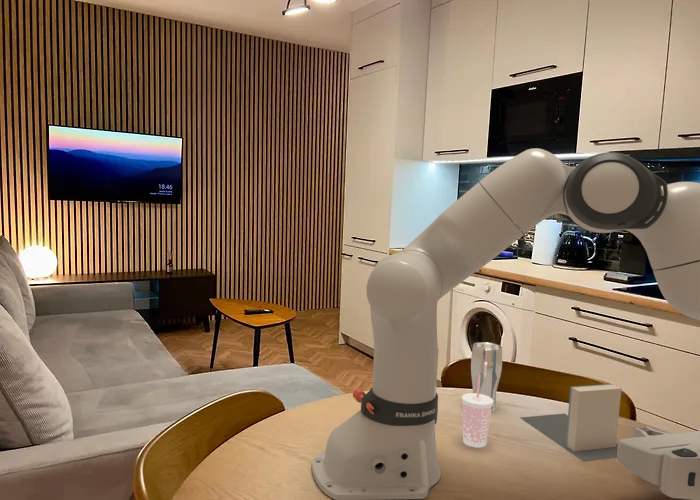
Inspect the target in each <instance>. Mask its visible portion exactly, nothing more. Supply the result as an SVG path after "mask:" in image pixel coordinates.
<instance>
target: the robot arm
mask: <svg viewBox="0 0 700 500" xmlns="http://www.w3.org/2000/svg"><path fill="white" fill-rule="evenodd" d="M554 215H560V216H561V217H563V218H565V219H566V220H567V221H569V222H571V223H573V224H574V225H576V226H577V227H580V228H581V229H583V230H585V231H588V232H591V233H599V234H600V233H601V234H608V233H609V234H610V233H614V232H617V231H618V232H619V231H626V232H629V233H631V234H632V235H634V236H635V237H636V238H637V239H638V240H639V241H640V243H641V245H642V246H643V248H644V249H645V252H646V254H647V258H648V260H649V261H648V262H649V263H650V266H651V267H650V268H651V269H652V272H653V276H654V278H655V281H656V284H657V286H658V288H659V290H660V292H661V294H662V296H663V298H664V299H665V301H666V303H668V305H669V306H670V307H671V308H672V309H674V310H675V311H677V312H678V313H680V314H682V315H684V316H685V317H688V318H691V319H694V320H696V321H697V320H698V321H700V182H696V181H677V182H672V183H669V184H667V182H666V181H665V179H662V178H661V177H660V176H658V175H657V174H656V173H654V172H653V171H651V169H648V168H647V167H646V166H645V165H644V164H642V163H641V162H640V161H639V160H637V159H635V158H633V157H631V156H629V155H627V154H625V153H621V152H614V151H613V152H611V151H610V152H609V151H606V152H601V153H598V154H594V155H591V156H589V157H587V158H585V159H584V160H583V161H581V162H579V164H578V165H576V166H570V165H566V164H565V163H563V162H562V160H561V159H560V158H558V157H557V156H556V155H555V154H554V153H552V152H550V151H548V150H545V149H543V148H539V147H538V148H537V147H536V148H529V149H525V150H524V151H522V152H520V153H519V154H516V155H515V156H513V157H511V158H510V159H508V160H507V161H505V162H504V163H502V164H501V165H499V166H498V167H496V168H495V169H493V170H492V171H491V172H489V173H488V174H487V175H486V176H484V177H483V178H482V179H481V180H480V181H479V182H477V183H476V184H475V185H474V186H472V187H471V188H470V189H469V190H468V191H466V192H465V193H464V194H462V195H461V197H459V198H458V199H457V200H456V201H455V202H453V203H452V204H451V205H450V206H448V208H446V209H445V210H444V211H443V212H441V213H440V214H439V215H438V216H437V217H436V219H434V220H433V221H432V222H431V224H430V225H428V226H427V227H426V228H425V229H424V230H423V231H422V232H421V233H420V234H418V235H417V236H416V237H415V238H414V239H413V240H412V241H411V242H409V244H408V245H406V246H405V247H404V248H403V249H401V250H399V251H398V252H395V253H393V254H389V255H387V256H385V257H384V258H382V259H381V260H380V261H378V263H376V265H374V266H373V267H374V268H373V270H371V272H370V275H369V276H368V277H369V278H368V280H367V282H366V291H365V292H366V298H367V302H368V303H369V307H370V319H371V326H372V336H373V337H372V338H373V350H374V351H373V365H372V366H373V367H372V370H373V371H372V385H371V386H372V387H371V388H370V389H369V390H368V392H367V393H365V392H364V390H363V389H362V388H360V387H356V388H355V389H354V390H352V397H353V398H354V399H355V401H356V402H357V403H360V410H358V411H357V412H356V413H354V414H353V415H351V417H349V418H348V419H347V420H345V421H344V422H342V423H340V425H338V426H336V427H335V428H333V430H332V431H331V432H330V434H329V436H328V439H327V442H326V447H325V451H323V452H319V453H316V454H315V456H314V457H313V459H312V463H311V472H312V476H313V479H314V481H315V482H316V485H317V487H319V489H320V490H321V491H322V492H323V493H324V494H325V495H326V496H328V497H329V498H331V499H333V500H424V499H426V498H427V496H428V494H429V492H430V489H431V488H432V487H433V486H434V485H436V484H437V483H438V482H439V480H440V479H441V475H442V474H441V469H440V465H439V460H438V454H437V443H436V441H437V440H436V424H437V421H438V411H439V410H438V409H439V394H438V392H437V384H438V382H437V381H438V368H439V367H438V365H439V346H438V321H437V320H438V318H437V317H438V316H437V315H438V303H439V300H441V299H442V298H443V297H444V296H445V295H446V294H448V293H449V292H451V291H452V290H453V289H455V288H456V287H457V286H459V285H460V284H461V283H463V282H464V281H465V280H467V279H468V278H469V277H471V276H472V275H473V274H474V273H476V272H478V271H479V270H480V269H482V268H483V267H485V266H486V265H487V264H488V263H490V262H491V261H492V260H494V259H495V258H496V257H497V256H499V255H500V254H501V253H502V252H504V251H506V249H508V248H509V247H510V246H512V245H513V244H514V243H515V242H517V241H518V240H520V239H521V238H522V237H523V236H524V235H525V234H527V233H528V232H529V231H530V230H532V229H533V228H534V227H536V226H537V225H538V224H540V223H541V222H542V221H544V220H546V219H547V218H550V217H551V216H554ZM632 432H633V433H632V436H633V437H629V438H620V439H619V440H618V443H617V445H618V448H617V458H616V459H617V461H618V463H619V464H620V465H621V466H623V467H624V468H626V469H627V470H628V471H630V472H631V473H633V474H635V476H638V477H639V478H641V479H642V480H644V481H646V482H648V483H650V484H652V485H656V486H660V492H661V493H662V494H664V496H667V497H669V498H672V499H682V500H700V430H694V431H692V430H691V431H685V432H674V433H669V432H663V431H660V430H655V429H653V428H651V427H649V426H644V427H634V428H633V431H632Z"/></svg>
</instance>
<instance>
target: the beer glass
mask: <svg viewBox="0 0 700 500" xmlns="http://www.w3.org/2000/svg"><path fill="white" fill-rule="evenodd" d="M471 350H472V351H471V358H470V360H471V361H470V375H471V383H472V393H477V382H478V374H481V375H480V389H479V394H483V395H486V396H489V397H490V398H492V399H493V406H492V407H491V413H494V412H496V411H497V410H498V406H497V391H498V387H499V383H500V379H501V377H502V376H501V375H502V370H503V347H502V346H501V345H500V344H497V343H494V342H489V341H488V342H487V341H481V342H480V341H479V342H474V343H473V344H472V349H471Z"/></svg>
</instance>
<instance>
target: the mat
mask: <svg viewBox="0 0 700 500" xmlns="http://www.w3.org/2000/svg"><path fill="white" fill-rule="evenodd" d="M519 418H520V419H521V420H523V422H525V423H527V424H528V425H530V426H531V427H533V428H534V429H535V430H537V431H538V432H539V433H542V434H543V435H544V436H546V437H547V438H548V439H550V440H551V441H553V442H554V443H556V444H557V445H559V446H560V447H561V448H562V449H565V450H566V451H568V452H569V453H570V454H572V455H574V456H575V457H576V458H578V459H579V460H581V461H582V462H583V463H584V462H592V461H601V460H609V459H618V458H617V448H618V443H616V447H608V448H600V449H591V450H582V451H573V450H571V449H570V448H568V447H567V446H565V445H566V433H567V422H568V414H566V413H556V414H543V415H533V416H521V417H519Z"/></svg>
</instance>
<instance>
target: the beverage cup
mask: <svg viewBox="0 0 700 500" xmlns="http://www.w3.org/2000/svg"><path fill="white" fill-rule="evenodd" d="M480 375H481V374H478V382H477V393H473V392H469V393H464V394H463V395H462V396H461V403H462V442H463V443H464V444H465V445H466V446H469V447H470V448H471V447H472V448H484V447H486V446H487V442H488V436H489V433H488V432H489V429H490V428H489V427H490V419H491V414H492V412H491V407H492V406H493V399H492V398H490V397H489V396H486V395H483V394H479V389H480Z"/></svg>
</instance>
